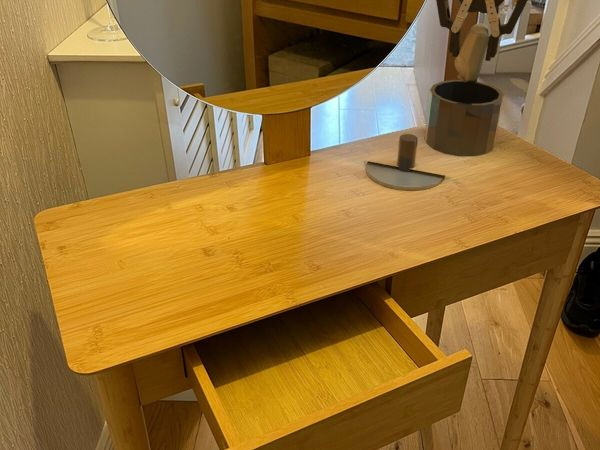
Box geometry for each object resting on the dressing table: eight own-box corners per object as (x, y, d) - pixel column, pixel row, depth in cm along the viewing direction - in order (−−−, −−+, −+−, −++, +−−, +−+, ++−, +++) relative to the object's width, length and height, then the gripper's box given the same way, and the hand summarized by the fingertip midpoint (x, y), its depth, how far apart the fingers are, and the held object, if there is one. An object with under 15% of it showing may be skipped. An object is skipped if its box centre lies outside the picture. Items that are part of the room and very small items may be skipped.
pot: (496, 143, 109) (507, 85, 103) (486, 171, 100) (497, 109, 94) (432, 132, 112) (439, 76, 107) (416, 158, 104) (423, 98, 98)
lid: (451, 165, 102) (457, 128, 98) (434, 200, 92) (440, 161, 89) (378, 152, 106) (381, 116, 102) (354, 184, 96) (357, 146, 93)
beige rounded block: (495, 81, 98) (504, 30, 93) (467, 86, 96) (474, 33, 92) (473, 70, 102) (481, 20, 98) (446, 74, 100) (453, 24, 96)
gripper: (433, -62, 88) (421, 59, 97) (540, -55, 83) (516, 70, 92) (445, -69, 93) (432, 45, 103) (545, -63, 89) (522, 56, 98)
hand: (472, 57), depth 97 cm, fingers closed on beige rounded block, 4 cm apart
